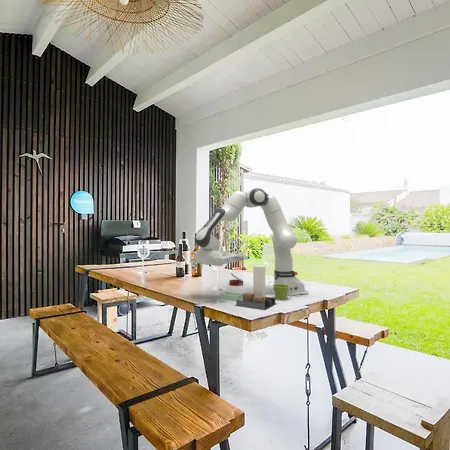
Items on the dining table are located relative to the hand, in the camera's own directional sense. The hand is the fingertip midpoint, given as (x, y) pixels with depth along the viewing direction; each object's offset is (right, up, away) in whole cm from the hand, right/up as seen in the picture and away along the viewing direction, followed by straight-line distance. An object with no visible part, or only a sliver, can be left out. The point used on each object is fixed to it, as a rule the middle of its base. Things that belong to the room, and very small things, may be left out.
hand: (239, 259), depth 198 cm
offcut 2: (+9, -23, -13) cm, 28 cm away
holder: (-4, -24, +3) cm, 24 cm away
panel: (+10, -23, -6) cm, 26 cm away
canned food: (0, -23, +52) cm, 57 cm away
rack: (+8, -24, -9) cm, 27 cm away
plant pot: (+24, -24, +5) cm, 34 cm away
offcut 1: (+4, -23, -10) cm, 26 cm away
